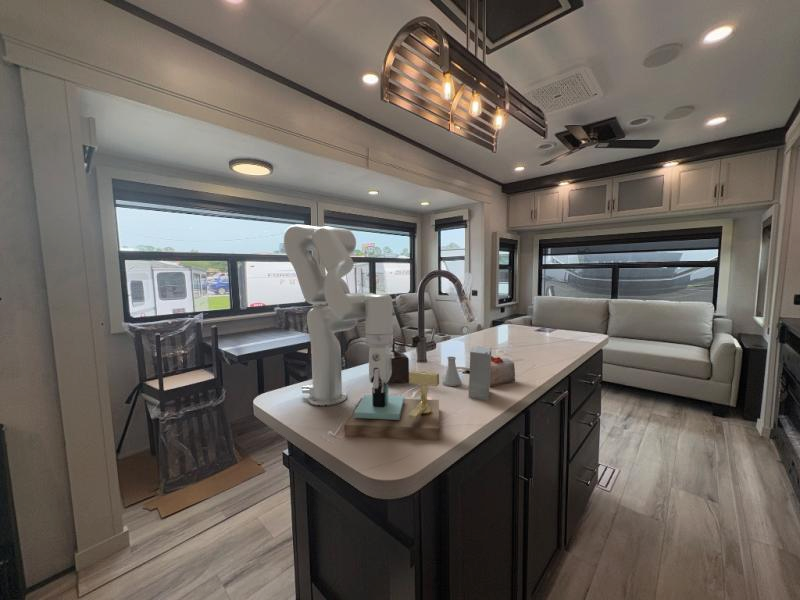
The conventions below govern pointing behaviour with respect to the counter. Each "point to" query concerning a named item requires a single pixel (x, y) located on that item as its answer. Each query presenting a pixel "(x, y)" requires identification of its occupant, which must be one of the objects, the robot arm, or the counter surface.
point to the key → (422, 391)
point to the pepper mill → (401, 362)
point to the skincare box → (479, 372)
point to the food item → (501, 371)
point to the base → (397, 424)
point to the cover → (388, 412)
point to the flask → (451, 373)
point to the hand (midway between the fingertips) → (380, 403)
